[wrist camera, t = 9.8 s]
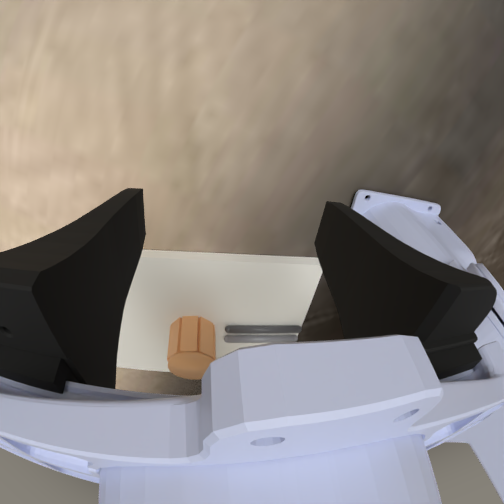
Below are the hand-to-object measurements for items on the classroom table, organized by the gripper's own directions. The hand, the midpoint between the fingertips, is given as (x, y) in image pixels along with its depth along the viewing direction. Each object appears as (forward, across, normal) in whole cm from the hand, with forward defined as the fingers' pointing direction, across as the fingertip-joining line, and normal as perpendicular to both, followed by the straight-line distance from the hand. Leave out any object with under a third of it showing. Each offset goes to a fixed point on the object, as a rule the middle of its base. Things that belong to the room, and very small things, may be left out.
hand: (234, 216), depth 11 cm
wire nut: (+8, +2, +18) cm, 20 cm away
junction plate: (+9, +2, +18) cm, 20 cm away
